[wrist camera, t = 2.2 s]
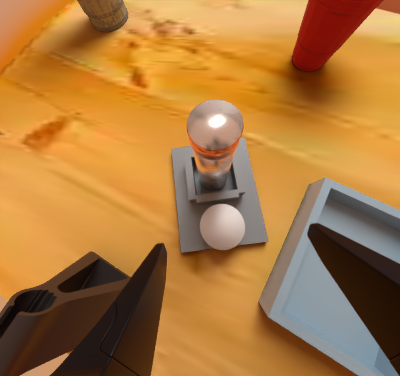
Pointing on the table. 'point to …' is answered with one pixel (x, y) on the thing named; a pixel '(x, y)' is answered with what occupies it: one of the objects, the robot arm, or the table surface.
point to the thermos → (105, 13)
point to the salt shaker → (214, 140)
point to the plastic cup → (328, 29)
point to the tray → (322, 280)
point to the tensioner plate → (206, 198)
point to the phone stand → (56, 313)
